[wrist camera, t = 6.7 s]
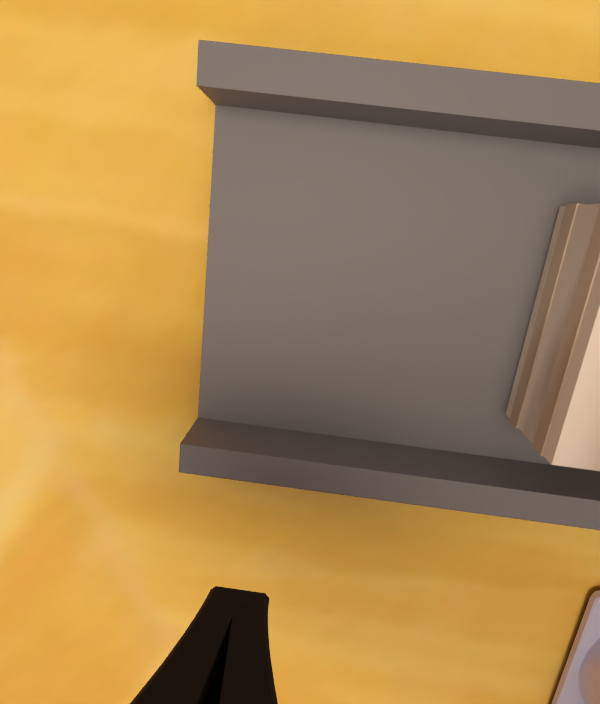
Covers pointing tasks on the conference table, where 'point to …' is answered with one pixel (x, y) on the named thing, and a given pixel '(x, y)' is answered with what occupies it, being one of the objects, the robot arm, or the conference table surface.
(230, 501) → the conference table surface
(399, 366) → the bay
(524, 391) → the tan layered slab
